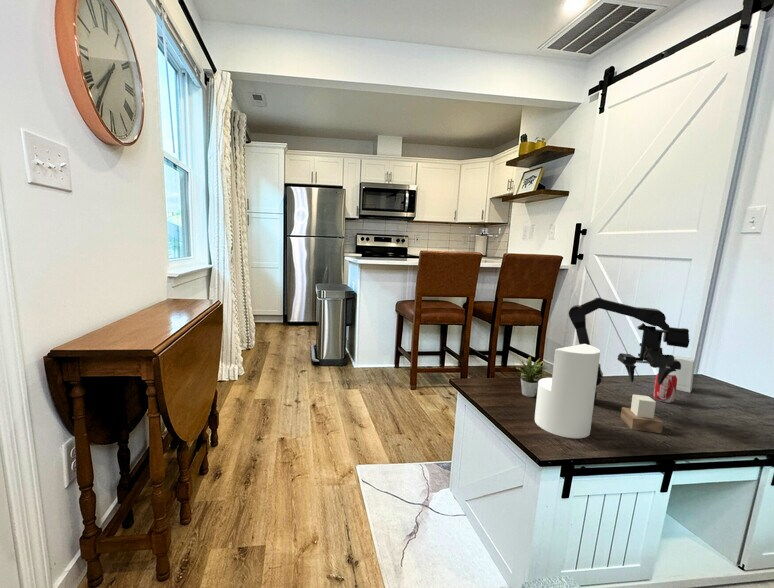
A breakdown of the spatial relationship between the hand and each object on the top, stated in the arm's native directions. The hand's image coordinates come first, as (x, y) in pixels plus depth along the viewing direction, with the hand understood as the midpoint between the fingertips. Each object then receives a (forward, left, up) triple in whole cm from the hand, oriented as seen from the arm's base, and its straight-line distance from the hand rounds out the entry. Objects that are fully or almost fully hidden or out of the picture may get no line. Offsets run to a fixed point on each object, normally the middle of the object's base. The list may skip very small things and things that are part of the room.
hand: (645, 383), depth 132 cm
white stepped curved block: (-33, -20, -12) cm, 40 cm away
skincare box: (+31, +36, -12) cm, 49 cm away
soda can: (+16, +18, -12) cm, 27 cm away
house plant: (-40, +4, -12) cm, 42 cm away
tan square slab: (-5, -11, -12) cm, 17 cm away
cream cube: (-5, -11, -8) cm, 14 cm away
